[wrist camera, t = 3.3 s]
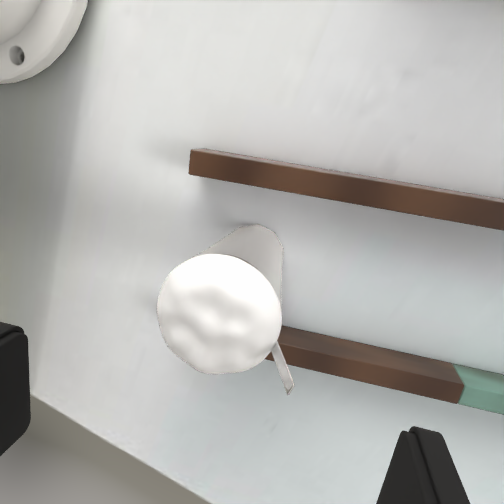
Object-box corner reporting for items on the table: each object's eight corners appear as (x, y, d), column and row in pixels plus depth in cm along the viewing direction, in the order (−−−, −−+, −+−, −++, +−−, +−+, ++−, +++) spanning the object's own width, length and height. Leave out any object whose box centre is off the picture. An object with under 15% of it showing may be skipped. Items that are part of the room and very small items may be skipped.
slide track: (184, 321, 23) (172, 337, 21) (202, 148, 20) (190, 149, 18) (618, 420, 20) (649, 449, 18) (723, 236, 17) (774, 248, 15)
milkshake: (285, 309, 22) (259, 441, 12) (203, 267, 22) (113, 366, 12) (323, 241, 20) (327, 333, 11) (234, 197, 20) (160, 248, 11)
